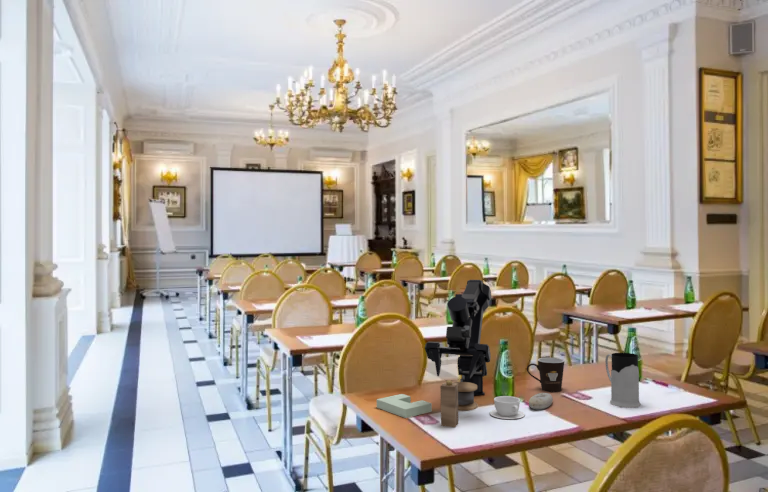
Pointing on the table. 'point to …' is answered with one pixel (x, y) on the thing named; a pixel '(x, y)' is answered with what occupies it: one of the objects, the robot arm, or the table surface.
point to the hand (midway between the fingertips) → (453, 376)
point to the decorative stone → (540, 401)
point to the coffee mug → (550, 373)
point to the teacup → (507, 408)
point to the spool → (466, 396)
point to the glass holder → (624, 380)
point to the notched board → (403, 405)
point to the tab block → (449, 404)
